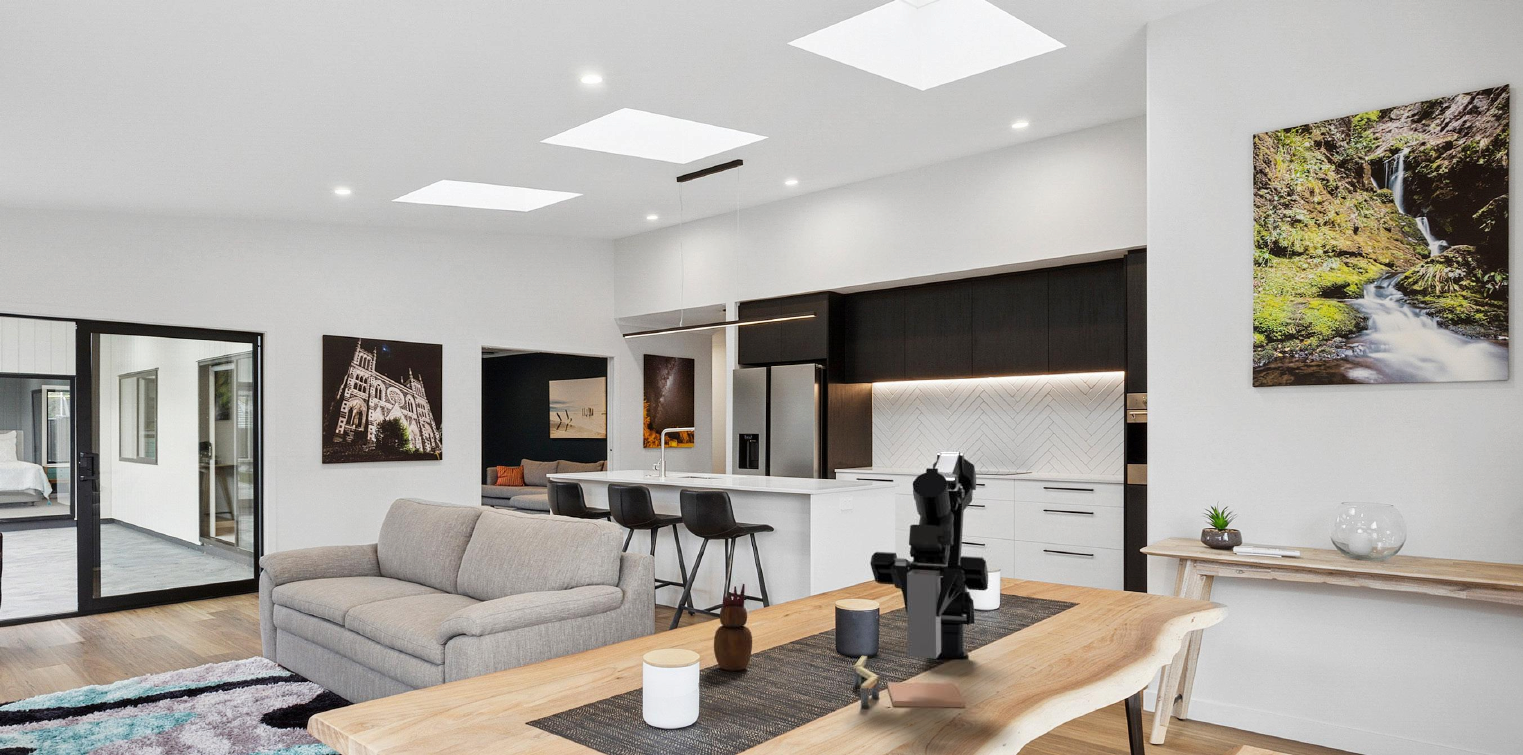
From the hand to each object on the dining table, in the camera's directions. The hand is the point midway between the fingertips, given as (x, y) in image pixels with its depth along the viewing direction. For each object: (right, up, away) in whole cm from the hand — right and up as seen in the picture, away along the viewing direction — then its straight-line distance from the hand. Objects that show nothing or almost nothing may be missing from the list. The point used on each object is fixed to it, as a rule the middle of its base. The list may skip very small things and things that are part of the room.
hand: (922, 614), depth 143 cm
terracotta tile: (+1, -13, +1) cm, 13 cm away
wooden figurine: (-31, -14, +17) cm, 38 cm away
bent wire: (-9, -14, +3) cm, 17 cm away
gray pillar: (+1, -7, +1) cm, 7 cm away
